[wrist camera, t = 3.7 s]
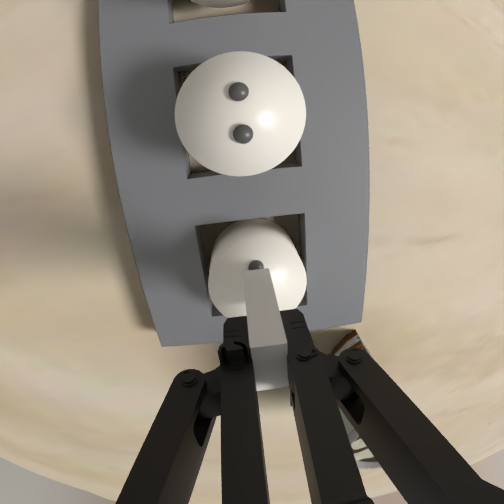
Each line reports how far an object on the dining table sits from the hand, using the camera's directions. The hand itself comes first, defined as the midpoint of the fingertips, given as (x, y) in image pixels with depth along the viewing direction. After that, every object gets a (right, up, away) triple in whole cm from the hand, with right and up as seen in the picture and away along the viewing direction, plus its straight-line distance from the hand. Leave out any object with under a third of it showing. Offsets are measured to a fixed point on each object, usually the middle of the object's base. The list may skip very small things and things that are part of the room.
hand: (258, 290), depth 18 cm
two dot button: (-1, +10, -2) cm, 10 cm away
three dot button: (0, +2, +4) cm, 5 cm away
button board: (-1, +11, 0) cm, 11 cm away
